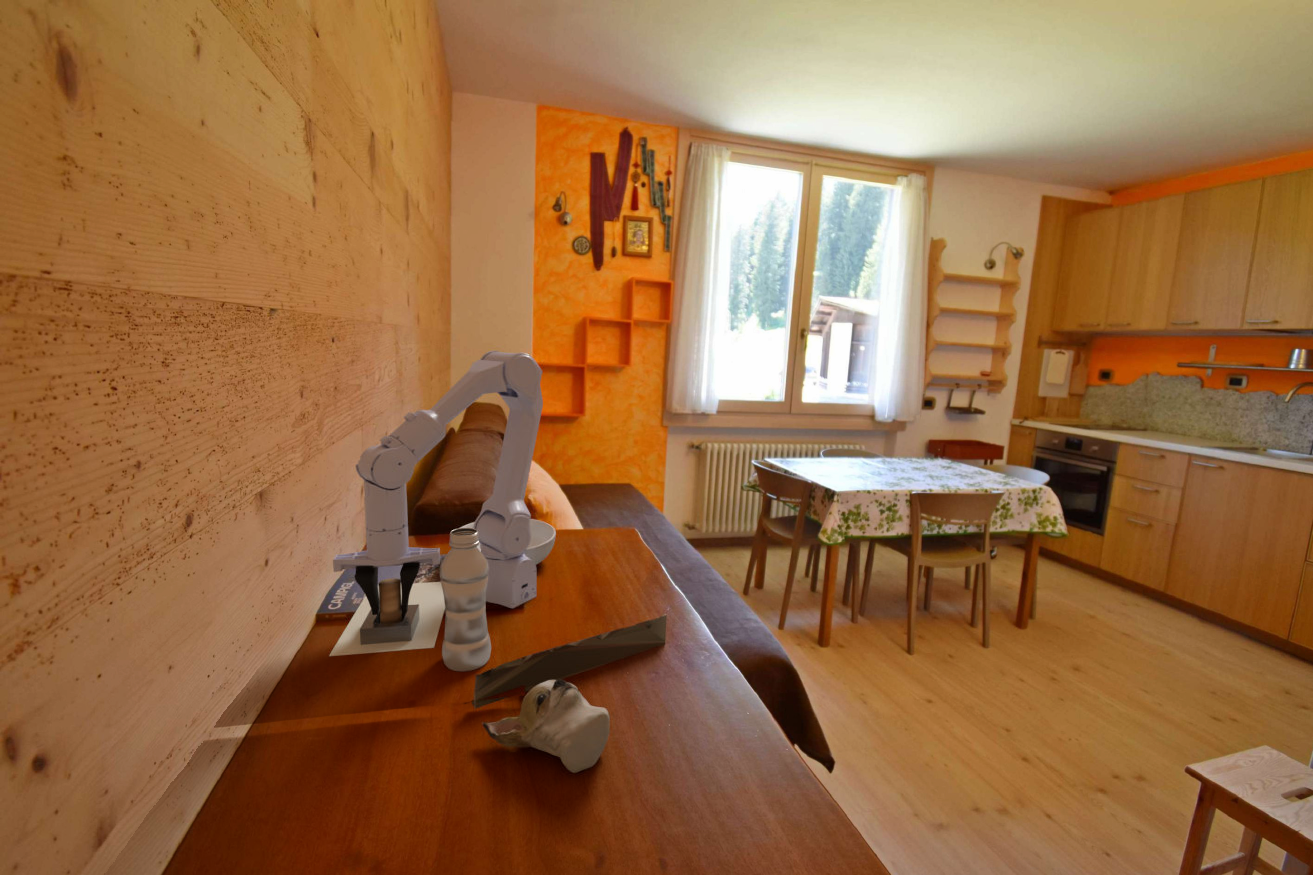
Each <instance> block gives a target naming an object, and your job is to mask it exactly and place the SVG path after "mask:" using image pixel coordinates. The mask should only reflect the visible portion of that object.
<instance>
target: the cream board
mask: <svg viewBox="0 0 1313 875" xmlns="http://www.w3.org/2000/svg"><path fill="white" fill-rule="evenodd" d="M378 592H379V584H378ZM401 603H402V588H401ZM417 604H419V618H420V619H419V622H418V624H417V627H416V630H415V633H414V635H413V638H412V641H402V642H390V643H377V644H364V645H361V642H360V628H361V626H362V624H363V622H364V621H365V619H366V617H367V615H368V613H369V612H370V610H371V607H370V604H369V601H368V599H367V597H366V595H364V597H363V599H362V601H361V602H360V604H359V606H358V608H356V611H355V612H354V614H353V616H352V617H351V619H350V620H349V623H348V624H347V626H346V627H345V629H344V630H343V632H342V633H341V635H340V637H339V638H338V640H337V642H336V643H335V645H334V647H333V649H332V650H331V652H330V654H329V655H328V657H336V656H347V655H349V656H350V655H361V654H373V653H384V652H385V653H387V652H397V651H409V650H410V651H411V650H421V649H423V650H424V649H432V648H433V649H435V645H436V641H437V638H438V634H439V630H440V627H441V623H442V620H443V617H444V614H445V603H444V594H443V589H442V584H441V581H433V582H429V581H428V582H416V583H415V582H414V583H413V585H412V588H411V591H410V595H409V601H408V605H417Z"/></svg>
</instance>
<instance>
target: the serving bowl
mask: <svg viewBox="0 0 1313 875" xmlns="http://www.w3.org/2000/svg"><path fill="white" fill-rule="evenodd" d="M474 523H475V521H474V522H470V523H468V524H465V525H462V526H461V527H459V528H473V526H474ZM530 530H531V540H530V543H529V545H528V547H527V549H526V550H525V551H524V554H525V555H526V556H527V557H528V558H529V559H531V560H532V561H533V562H534V563H535V565H536V566H537V565H538V564H540V563H541V562H542V561H544V560H545V559H546V558H547V557H548V556H549V554H550V553H551V551H552V549H553V547H554V545H555V542H556V536H557V535H556V534H557V532H556V528H555V527H554V526H552V525H551V524H549V523H547V522H545V521H543V520H538V519H533V518H530ZM477 548H478V549H479V550H480V551H481V549H480V542H479V545H478V546H477Z"/></svg>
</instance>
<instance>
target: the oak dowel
mask: <svg viewBox="0 0 1313 875" xmlns="http://www.w3.org/2000/svg"><path fill="white" fill-rule="evenodd" d="M378 585H379V601H380V623H389V622H402V609H401V579H400V578H395V577H394V578H393V577H392V578H386V579H383V580H380V581H378Z"/></svg>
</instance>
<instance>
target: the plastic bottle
mask: <svg viewBox="0 0 1313 875" xmlns="http://www.w3.org/2000/svg"><path fill="white" fill-rule="evenodd" d="M478 545H479V539H478V530H477V529H474V528H460V527H458V528H455V529H453V530H451V531H450V533H449V544H448V546H449V547H450V548H451V549H450V550H449V551H448V553H447V554H446V555H445V556H444V558H443V560H442V561H441V562H440V567H439V570H438V571H439V578H440V582H441V584H442V589H443V594H444V603H445V610H444V614H445V618H444V619H445V622H444V623H445V624H444V637H443V641H442V649H441V656H442V660H443V664H444V665H445V666H446V667H447V668H448V669H449V670H451V671H453V672H454V671H455V672H471V671H475V670H478V669H479V668H482V667H483V666H485V665H486V664H487V663H488V662H489V660H490V658H491V651H492V643H491V638H490V634H489V631H488V621H487V612H486V609H487V608H486V606H487V605H486V604H487V601H486V590H487V582H488V574H489V565H488V562H487V560H486V558H485V557H484V555H483V554H482V552H481V551H480V550H479V549H478V548H477V546H478Z"/></svg>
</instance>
